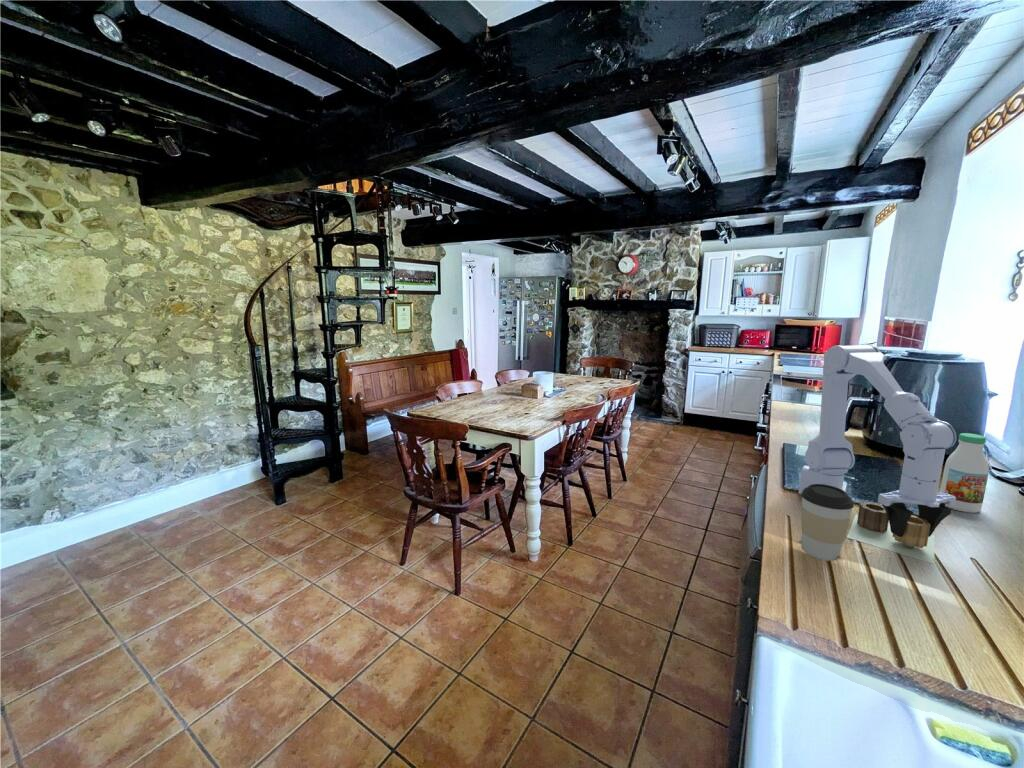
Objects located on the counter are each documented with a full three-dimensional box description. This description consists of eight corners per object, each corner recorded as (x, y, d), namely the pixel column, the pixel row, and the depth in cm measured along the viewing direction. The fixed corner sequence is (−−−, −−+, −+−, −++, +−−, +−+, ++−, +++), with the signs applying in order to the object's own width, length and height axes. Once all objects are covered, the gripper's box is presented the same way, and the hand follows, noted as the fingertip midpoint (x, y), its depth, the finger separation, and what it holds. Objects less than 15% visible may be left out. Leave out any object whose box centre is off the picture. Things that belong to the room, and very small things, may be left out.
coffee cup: (838, 545, 91) (847, 483, 89) (852, 568, 83) (862, 501, 81) (791, 536, 95) (798, 477, 93) (800, 557, 87) (807, 493, 84)
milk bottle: (929, 500, 111) (942, 431, 107) (955, 499, 111) (968, 430, 108) (963, 514, 103) (977, 440, 100) (989, 512, 104) (1005, 439, 100)
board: (846, 542, 93) (848, 525, 92) (855, 518, 103) (857, 503, 102) (933, 569, 83) (936, 550, 82) (933, 539, 93) (936, 523, 92)
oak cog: (891, 540, 89) (894, 519, 88) (894, 531, 92) (897, 511, 91) (925, 551, 85) (929, 529, 84) (927, 541, 88) (931, 520, 87)
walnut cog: (855, 526, 97) (858, 507, 96) (858, 518, 100) (861, 499, 99) (886, 535, 93) (889, 515, 92) (888, 526, 96) (891, 507, 96)
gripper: (903, 484, 82) (893, 544, 84) (976, 484, 81) (963, 544, 84) (873, 471, 89) (865, 527, 91) (940, 470, 88) (930, 526, 91)
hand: (910, 534), depth 88 cm, fingers closed on oak cog, 5 cm apart
